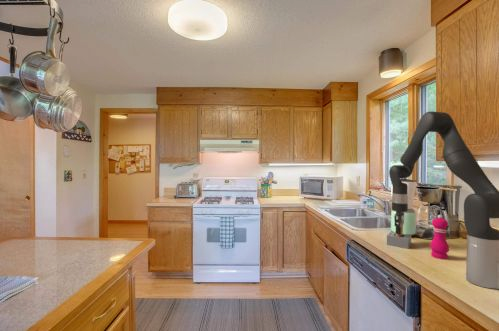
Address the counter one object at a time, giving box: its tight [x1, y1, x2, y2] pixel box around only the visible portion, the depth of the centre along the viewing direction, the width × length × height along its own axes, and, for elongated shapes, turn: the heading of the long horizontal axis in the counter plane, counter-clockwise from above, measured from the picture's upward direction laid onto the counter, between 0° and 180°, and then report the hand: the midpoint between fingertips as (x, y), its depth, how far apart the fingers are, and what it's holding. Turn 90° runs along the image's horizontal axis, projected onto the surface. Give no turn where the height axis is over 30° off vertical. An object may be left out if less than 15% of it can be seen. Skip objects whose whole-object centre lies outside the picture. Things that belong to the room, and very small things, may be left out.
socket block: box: [386, 231, 412, 250], centre depth 136 cm, size 10×10×5 cm
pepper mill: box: [429, 214, 450, 260], centre depth 118 cm, size 7×7×20 cm
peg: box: [395, 224, 403, 237], centre depth 136 cm, size 3×3×10 cm
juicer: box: [390, 178, 417, 237], centre depth 154 cm, size 19×13×35 cm
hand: (399, 232), depth 136 cm, fingers open, 5 cm apart
